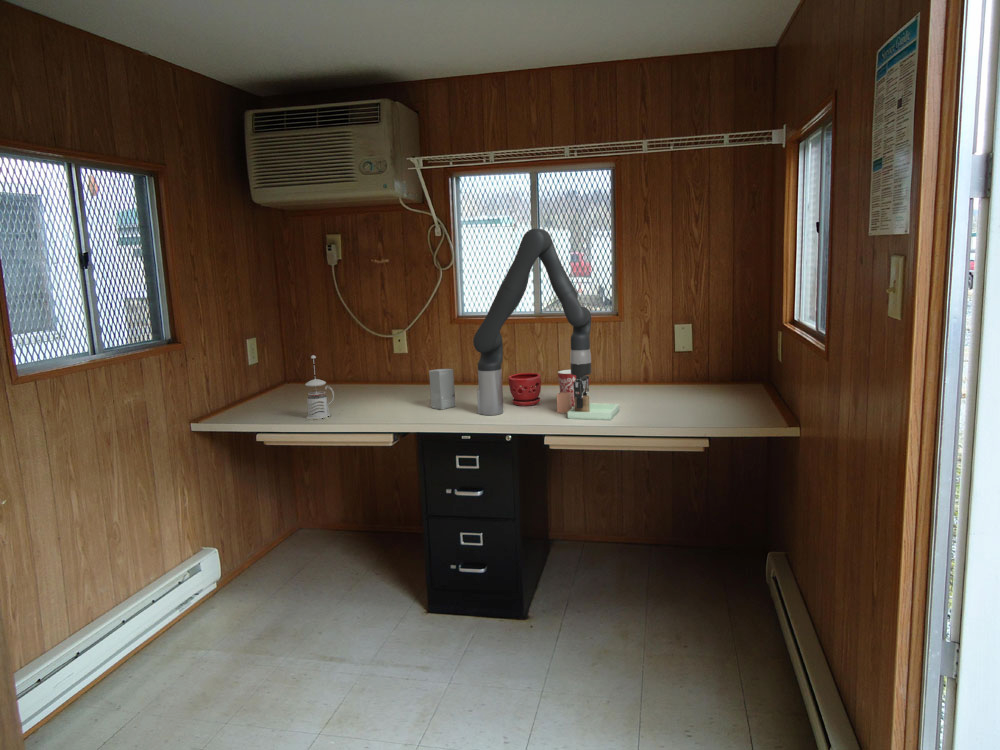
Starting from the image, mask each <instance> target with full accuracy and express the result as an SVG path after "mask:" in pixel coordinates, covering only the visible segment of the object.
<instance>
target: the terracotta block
mask: <svg viewBox="0 0 1000 750" xmlns="http://www.w3.org/2000/svg"><path fill="white" fill-rule="evenodd" d="M556 406H557V410H556V411H557V413H560V414H561V413H562V414H568V411H569V410H570V409H572V408H573V406H572V399H571V393H563V392H560V391H559V393H557V394H556Z"/></svg>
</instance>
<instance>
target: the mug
mask: <svg viewBox="0 0 1000 750" xmlns="http://www.w3.org/2000/svg"><path fill="white" fill-rule="evenodd" d="M557 375H558V385H559V393H560V392H563V393H571V399H572V407H574V406H575V404H574V398H575V397H574V384H573V383H574V382H575V380H576V375H572V374H571V369H565V370H564V369H563V370H560V371H559V370H558V371H557ZM586 376H588V375H586ZM590 382H591V381H590V378H589V385H590ZM578 394H579V392H578Z"/></svg>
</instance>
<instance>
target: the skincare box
mask: <svg viewBox="0 0 1000 750" xmlns="http://www.w3.org/2000/svg"><path fill="white" fill-rule="evenodd" d="M428 373H429V374H428V375H429V388H430V389H429V390H430V405H431V409H436V410H441V409H443V410H445V409H446V408H447V409H450V408H453V407H456V393H455V379H454V378H455V377H454V369H453V368H439V369H438V368H437V369H431V370H428Z"/></svg>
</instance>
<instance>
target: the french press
mask: <svg viewBox="0 0 1000 750" xmlns="http://www.w3.org/2000/svg"><path fill="white" fill-rule="evenodd" d="M316 358H317V356H316V355H313V354H312V355H311V356H310V359H313V360H312V361H313V363H315V359H316ZM313 369H314V370H313V372H314V373H313V374H316V370H315V369H316V368H315V366H313ZM326 384H327V381H325V380H322V379H318V378H316V377H314V379H311V380H309V381H307V382H306V383H305V387H321V386H324V385H325V386H324V388H325V391H317V388H315V391H311V392H308V393H307V397H306V401H307V412H308V414H307V416H306V418H323V417H327V416H329V415H331V414H330V410H329V405H330V404H331V403H332V402H333V401H334V398H335V392H334V390H333V388H332V387H331V386H329V385H326ZM327 389H329V390H330V391H331V392H332V398H331V401H330V402H328V396H327V395H326V390H327Z"/></svg>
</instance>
